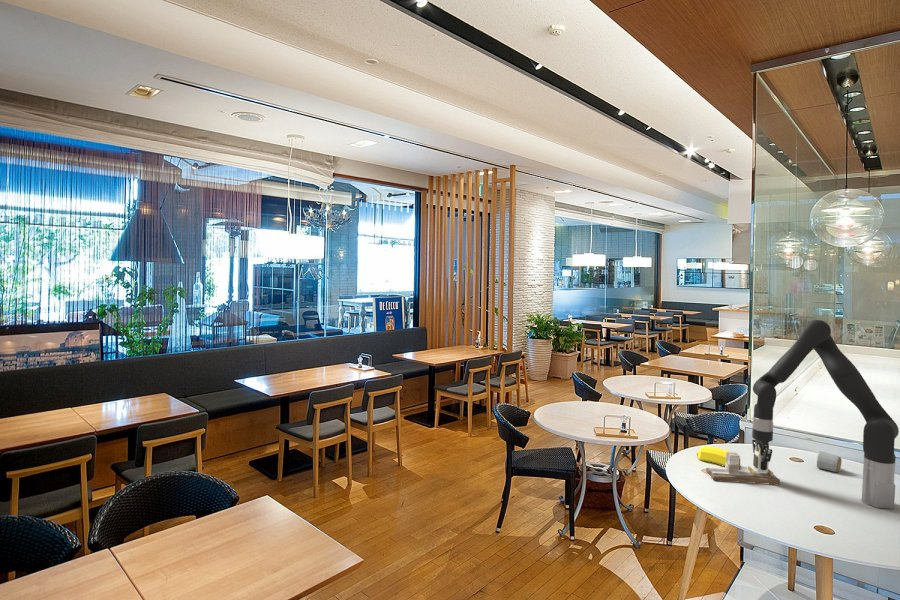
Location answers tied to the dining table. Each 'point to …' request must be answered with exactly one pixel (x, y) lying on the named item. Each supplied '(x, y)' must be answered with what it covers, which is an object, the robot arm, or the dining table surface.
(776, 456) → the dining table surface
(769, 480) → the wooden ladder shelf
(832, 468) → the ceramic mug
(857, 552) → the dining table surface
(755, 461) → the loose white rectangular block
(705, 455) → the yellow faceted pepper
